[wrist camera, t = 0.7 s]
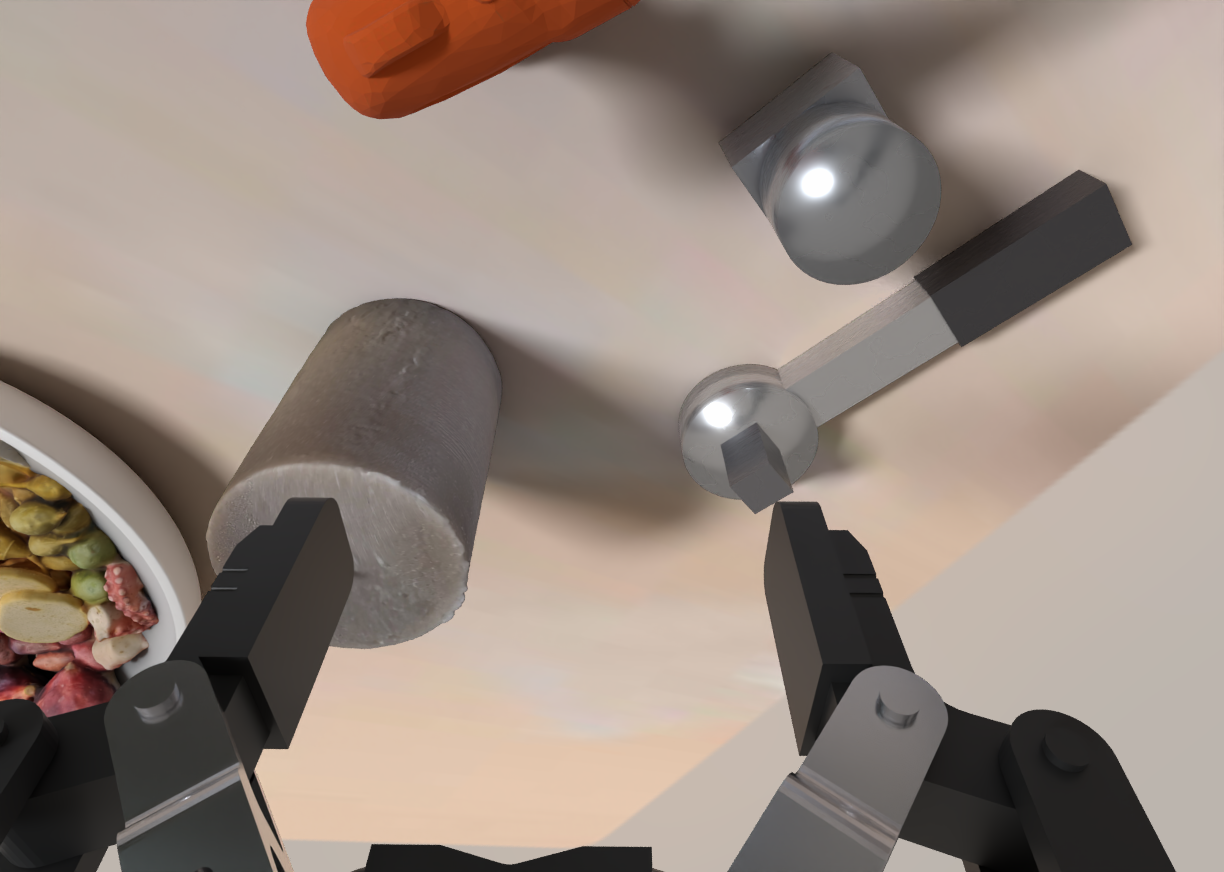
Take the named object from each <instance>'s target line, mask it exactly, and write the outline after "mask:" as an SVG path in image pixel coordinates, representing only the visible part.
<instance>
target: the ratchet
mask: <svg viewBox="0 0 1224 872" xmlns="http://www.w3.org/2000/svg"><path fill="white" fill-rule="evenodd" d="M1131 245H1132V243H1131V241H1130V238H1129V236H1128V234H1127V231H1126V229H1125V227H1124V224H1123V222H1122V220H1121V217H1120V215H1119V213H1118V210H1117V208H1116V206H1115V203H1114V201H1113V199H1112V196H1111V194H1110V192H1109V189H1108V187H1107V185H1106V184H1105V183H1103V182H1102V181H1100V180H1098V179H1096V178H1094V177H1092V176H1090V175H1088V174H1086V173H1084V172H1082V171H1080V170H1078V171H1076V172H1075V173H1073V174H1072V175H1070V176H1069V177H1067V178H1065V179H1064V180H1062V181H1061V182H1059V183H1058V184H1056V185H1055V186H1053V187H1052V188H1050V189H1049V190H1047V191H1046V192H1044V193H1042V194H1041V195H1039V196H1038V197H1036V198H1035V199H1033V200H1032V201H1030V202H1029V203H1027V204H1026V205H1024V206H1022V207H1021V208H1019V209H1018V210H1016V211H1015V212H1013V213H1012V214H1010V215H1009V216H1007V217H1006V218H1004V219H1003V220H1001V221H999V222H998V223H996V224H995V225H993V226H992V227H990V228H989V229H987V230H986V231H984V232H983V233H981V234H980V235H978V236H976V237H975V238H973V239H972V240H970V241H969V242H967V243H966V244H964V245H963V246H961V247H960V248H958V249H956V250H955V251H953V252H952V253H950V254H949V255H947V256H946V257H944V258H943V259H941V260H940V261H938V262H937V263H935V264H933V265H932V266H930V267H929V268H927V269H926V270H924V271H923V272H921V273H920V274H918V275H917V276H915V277H914V278H915V281H914V282H912V283H911V284H909V285H908V286H906V287H905V288H903V289H902V290H900V291H898V292H897V293H895V294H894V295H892V296H891V297H889V298H888V299H886V300H885V301H883V302H882V303H880V304H878V305H877V306H875V307H874V308H872V309H871V310H869V311H868V312H866V313H865V314H863V315H861V316H860V317H858V318H857V319H855V320H854V321H852V322H851V323H849V324H848V325H846V326H845V327H843V328H841V329H840V330H838V331H837V332H835V333H834V334H832V335H831V336H829V337H828V338H826V339H825V340H823V341H821V342H820V343H818V344H817V345H815V346H814V347H812V348H811V349H809V350H808V351H806V352H805V353H803V354H801V355H800V356H798V357H797V358H795V359H794V360H792V361H791V362H789V363H788V364H786V365H784V366H783V367H781V368H780V369H778V370H776V369H774V368H771V367H767V366H762V365H753V364H746V365H737V366H732V367H728V368H725V369H722V370H719V371H717V372H715V373H713V374H711V375H709V376H708V377H706V378H705V379H703V380H702V381H701V382H699V383H698V384H697V385H696V386H695V387H694V388H693V389H692V391H691V392H690V393H689V394H688V396H687V398H686V399H685V401H684V403H683V405H682V408H681V411H680V415H679V433H680V440H681V447H682V454H683V459H684V463H685V466H686V468H687V471H688V472H689V474H690V476H691V477H692V478H693V479H694V480H695V482H697V483H698V484H699V485H700V486H701V487H703V488H704V489H706V490H707V491H709V492H711V493H713V494H716V495H718V496H721V497H725V498H730V499H741V500H742V501H743V502H744V503H745V504H746V505H747V506H748V507H749V508H750V509H751V510H752V511H753V512H754V514H756V513H758V512H760V511H761V510H763V509H765V508H767V507H768V506H770V505H772V504H773V503H775V502H777V501H779V500H780V499H782V498H784V497H786V496H787V495H789V494H791V493H793V492H794V491H793V488H792V485H791V484H793V483H794V482H795V481H796V480H798V479H799V478H800V477H801V476H802V475H803V474H804V473H805V471H806V470H807V469H808V468H809V466H810V464H811V463H812V461H813V459H814V457H815V454H816V451H817V447H818V430H817V427H819V426H820V425H822V424H824V423H825V422H827V421H829V420H830V419H832V418H834V417H835V416H837V415H839V414H840V413H842V412H843V411H845V410H847V409H848V408H850V407H852V406H853V405H855V404H857V403H858V402H860V401H862V400H863V399H865V398H867V397H868V396H870V395H872V394H873V393H875V392H877V391H878V390H880V389H882V388H883V387H885V386H887V385H888V384H890V383H891V382H893V381H895V380H896V379H898V378H900V377H901V376H903V375H905V374H906V373H908V372H910V371H911V370H913V369H915V368H916V367H918V366H920V365H921V364H923V363H925V362H926V361H928V360H930V359H931V358H933V357H935V356H936V355H938V354H939V353H941V352H943V351H944V350H946V349H948V348H949V347H951V346H953V345H954V344H956V343H959V345H960V346H961V347H962V346H964V345H966V344H967V343H969V342H971V341H972V340H974V339H976V338H977V337H979V336H981V335H982V334H984V333H986V332H987V331H989V330H991V329H992V328H994V327H996V326H997V325H999V324H1001V323H1002V322H1004V321H1006V320H1007V319H1009V318H1011V317H1012V316H1014V315H1016V314H1017V313H1019V312H1021V311H1022V310H1024V309H1026V308H1027V307H1029V306H1031V305H1032V304H1034V303H1036V302H1037V301H1039V300H1041V299H1042V298H1044V297H1046V296H1047V295H1049V294H1051V293H1052V292H1054V291H1056V290H1057V289H1059V288H1061V287H1062V286H1064V285H1066V284H1067V283H1069V282H1071V281H1072V280H1074V279H1076V278H1077V277H1079V276H1081V275H1082V274H1084V273H1086V272H1087V271H1089V270H1091V269H1092V268H1094V267H1096V266H1097V265H1099V264H1101V263H1102V262H1104V261H1106V260H1107V259H1109V258H1111V257H1112V256H1114V255H1116V254H1117V253H1119V252H1121V251H1122V250H1124V249H1126V248H1127V247H1129V246H1131Z"/></svg>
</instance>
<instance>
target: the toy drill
mask: <svg viewBox="0 0 1224 872" xmlns="http://www.w3.org/2000/svg"><path fill="white" fill-rule="evenodd" d="M639 1H640V0H313V1H312V3H311V5H310V8H309V11H308V15H307V21H306V27H307V33H308V37H309V40H310V43H311V46H312V49H313V51H314V54H315V56H316V58H317V60H318V62H319V64H320V66H321V68H322V70H323V72H324V74H325V76H326V77H327V79H328V80H329V81H330V82H331V84H332V85H333V86H334V88H335V89H336V90H337V91H338V93H339V94H340V95H341V96H342V98H343V99H344V100H345V101H346V102H347V103H348V104H349V105H350V106H351V107H352V108H353V109H355V110H356V111H358V112H359V113H361V114H362V115H365V116H368V117H371V118H376V119H390V118H401V117H404V116H406V115H409V114H412V113H415V112H417V111H419V110H422V109H424V108H426V107H429V106H431V105H434V104H436V103H439V102H442V101H444V100H446V99H448V98H451V97H453V96H455V95H457V94H459V93H461V92H463V91H465V90H467V89H469V88H471V87H473V86H475V85H477V84H479V83H481V82H483V81H485V80H487V79H490V78H492V77H494V76H496V75H498V74H500V73H502V72H503V71H505V70H507V69H509V68H510V67H512V66H514V65H515V64H517V63H519V62H520V61H522V60H524V59H525V58H527V57H529V56H530V55H532V54H534V53H535V52H537V51H539V50H540V49H542V48H544V47H545V46H547V45H549V44H550V43H552V42H563V41H569V40H572V39H574V38H577V37H579V36H580V35H582V34H584V33H586V32H588V31H590V30H591V29H593V28H595V27H597V26H599V25H601V24H602V23H604V22H606V21H608V20H610V19H612V18H613V17H615V16H617V15H619V14H621V13H622V12H624V11H626V10H628V9H630V8H631V7H632V5H633V6H635V5H636V4H637V3H638V2H639Z"/></svg>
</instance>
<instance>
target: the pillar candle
mask: <svg viewBox="0 0 1224 872" xmlns="http://www.w3.org/2000/svg"><path fill="white" fill-rule="evenodd" d="M501 394H502V381H501V376H500V372H499V369H498V367H497V365H496V362H495V360H494V357H493V355H492V353H491V352H490V350H489V349H488V347H487V346H486V344H485V343H484V341H483V340H482V339H481V337H480V336H479V334H478V333H477V332H476V331H475V330H474V329H473V328H472V327H471V326H470V325H468V324H467V323H466V322H465V321H464V320H462V319H461V318H459V317H458V316H456V315H455V314H453V313H452V312H450V311H448V310H445V309H442V308H440V307H437V306H436V305H433V304H430V303H428V302H423V301H419V300H412V299H398V298H395V299H384V300H377V301H372V302H368V303H365V304H362V305H360V306H358V307H355V308H353V309H350V310H348V311H347V312H345V313H344V314H342V315H341V316H340V317H339V318H338V319H336V320H335V321H334V322H333V323H332V324H331V325H330V326H329V327H328V329H327V331H326V333H325V334H324V335H323V337H322V338H321V340H320V341H319V343H318V344H317V346H316V347H315V349H314V350H313V351H312V353H311V354H310V355H309V357H308V359H307V360H306V362H305V364H304V365H303V367H302V369H301V370H300V371H299V373H298V374H297V376H296V377H295V379H294V380H293V382H292V384H291V386H290V387H289V389H288V391H287V392H286V394H285V395H284V397H283V398H282V400H281V402H280V403H279V405H278V407H277V408H276V410H275V411H274V413H273V414H272V416H271V418H270V419H269V421H268V422H267V424H266V425H265V427H264V428H263V430H262V432H261V433H260V434H259V436H258V438H257V439H256V441H255V442H254V444H253V446H252V447H251V449H250V450H249V452H248V454H247V455H246V457H245V458H244V460H243V462H242V464H241V465H240V467H239V468H238V470H237V472H236V473H235V475H234V476H233V478H232V480H231V481H230V483H229V484H228V486H227V488H226V490H225V491H224V493H223V495H222V497H221V498H220V500H219V501H218V503H217V505H216V507H215V509H214V511H213V513H212V516H211V518H210V521H209V525H208V529H207V532H206V540H207V547H208V552H209V556H210V560H211V565H212V568H214V572H215V574H216V575H217V576H218V574H219V573H220V572H221V573H222V571H223V569H222V568H223V566H224V564H225V563H226V561H227V559H228V558H229V556H230V554H231V553H232V551H233V550H234V548H235V546H236V545H237V544H238V543H239V542H241V541H242V540H243V539H244V538H245V537H246V536H248V535H249V534H250V533H251V532H252V531H253V530H255V529H256V528H257V527H258V526H259V525H273V524H274V522H275V520H276V518H277V517H278V515H279V513H280V511H281V510H282V508H283V506H284V504H285V503H286V501H287V500H288V499H290V498H292V497H319V498H334V499H335V500H336V501H337V503H338V506H339V509H340V513H341V516H342V520H343V523H344V527H345V530H346V534H347V538H348V541H349V545H350V548H351V552H352V555H353V561H354V578H353V585H352V589H351V592H350V594H349V597H348V600H347V602H346V605H345V607H344V610H343V612H342V615H341V617H340V620H339V622H338V625H337V627H336V630H335V632H334V635H333V637H332V640H331V642H330V645H329V646H333V647H342V648H359V649H371V648H378V647H383V646H388V645H396V644H398V643H402V642H405V641H408V640H413V639H415V638H417V637H419V636H422V635H424V634H426V633H427V632H429V631H431V630H433V629H434V628H435V627H437V626H439V625H440V624H442V623H445V622H448V621H449V620H450V619H452V618H453V616H454V611H455V610H457V609H458V608H459V607H461V606H462V603H463V602H464V600H465V594H464V592H466V591H467V589H468V588H467V581H468V572H469V567H470V560H471V556H472V550H473V545H474V540H475V535H476V530H477V524H478V520H479V515H480V510H481V503H482V499H483V494H484V489H485V484H486V479H487V474H488V469H489V463H490V459H491V454H492V448H493V442H494V437H495V431H496V426H497V421H498V415H499V409H500V404H501Z"/></svg>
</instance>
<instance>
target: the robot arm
mask: <svg viewBox="0 0 1224 872" xmlns="http://www.w3.org/2000/svg"><path fill="white" fill-rule="evenodd" d="M222 569H223V571H222V573H221V572H220V573H219V574H218V576H217V578H216V579H215V581H214V583H213V584H212V586H211V591H208V592H207V594H206V596H205V597H204V599H203V601H202V602H201V604H200V606H199V607H198V609H197V611H196V612H195V614H194V616H193V617H192V619H191V621H190V622H189V624H188V625H187V627H186V629H185V630H184V632H183V634H182V635H181V637H180V639H179V640H178V642H177V644H176V645H175V647H174V649H173V650H172V652H171V654H170V655H169V657H168V658H167V660H166V661H165V662H163V663H159V664H156V665H154V666H151V667H149V668H147V669H145V670H143V671H141V672H139V673H137V674H136V675H134V676H133V677H131V678H130V679H129V680H128V681H126V682H125V683H124V684H123V685H122V686H121V687H120V688H119V689H118V690H117V691H116V692H115V694H114V695H113V696H112V698H111V699H110V701H108V702H105V703H102V704H98V705H94V706H90V707H86V708H82V709H78V710H75V711H71V712H67V713H63V714H59V715H55V716H51V717H47V716H46V715H45V714H44V712H43V711H42V710H41V708H40V707H39V706H38V705H37V704H36V703H34V702H32V701H30V700H25V699H8V700H3V701H0V872H96V871H97V869H98V867H99V865H100V863H101V861H102V858H103V857H104V855H105V853H106V851H107V849H108V846H111V845H115V844H117V849H118V855H119V860H120V865H121V870H122V872H294V870H293V868H292V866H291V863H290V861H289V858H288V855H287V853H286V850H285V847H284V844H283V842H282V839H281V836H280V834H279V831H278V828H277V826H276V823H275V820H274V818H273V815H272V812H271V810H270V807H269V804H268V802H267V799H266V796H265V794H264V791H263V788H262V786H261V783H260V780H259V778H258V775H257V773H256V771H255V767H256V765H257V762H258V760H259V758H260V755H261V753H262V750H263V749H288V748H289V746H290V743H291V741H292V738H293V736H294V733H295V731H296V728H297V726H298V723H299V721H300V718H301V716H302V713H303V710H304V708H305V705H306V703H307V700H308V698H309V695H310V693H311V690H312V688H313V685H314V683H315V680H316V678H317V675H318V673H319V670H320V668H321V665H322V663H323V660H324V658H325V655H326V652H327V650H328V647H329V645H330V642H331V640H332V637H333V635H334V632H335V630H336V627H337V625H338V622H339V620H340V617H341V615H342V612H343V610H344V607H345V605H346V602H347V600H348V597H349V594H350V592H351V589H352V585H353V578H354V561H353V555H352V552H351V548H350V545H349V541H348V538H347V534H346V530H345V527H344V523H343V520H342V516H341V513H340V509H339V506H338V503H337V501H336V500H335V499H334V498H319V497H292V498H290V499H288V500H287V501H286V503H285V504H284V506H283V508H282V510H281V511H280V513H279V515H278V517H277V518H276V520H275V522H274V524H273V525H259V526H258V527H257V528H256V529H255V530H253V531H252V532H251V533H250V534H249V535H248V536H246V537H245V538H244V539H243V540H242V541H241V542H239V543H238V544H237V545H236V546H235V548H234V550H233V551H232V553H231V554H230V556H229V558H228V559H227V561H226V563H225V564H224V566H223V568H222ZM764 587H765V595H766V600H767V605H768V610H769V614H770V619H771V624H772V629H773V633H774V638H775V643H776V648H777V652H778V657H779V662H780V667H781V671H782V676H783V681H784V686H785V690H786V695H787V699H788V704H789V709H790V714H791V719H792V724H793V728H794V733H795V738H796V742H797V747H798V752H799V756H807V757H806V759H805V760H804V762H803V764H802V765H801V767H800V768H799V770H798V771H797V772H796V773H795V774H794V773H793V772H792V773H790V774H789V775H788V776H787V777H786V779H785V780H784V781H783V783H782V784H781V786H780V787H779V789H778V790H777V792H776V794H775V795H774V797H773V798H772V800H771V802H770V803H769V805H768V807H767V808H766V810H765V811H764V813H763V815H762V816H761V818H760V819H759V821H758V823H757V824H756V826H755V828H754V830H753V831H752V832H751V834H750V836H749V838H748V839H747V841H746V842H745V844H744V846H743V847H742V849H741V850H740V852H739V854H738V855H737V857H736V859H735V860H734V862H733V863H732V865H731V867H730V868H729V870H728V871H727V872H883V871H884V868H885V866H886V864H887V862H888V860H889V857H890V855H891V853H892V851H893V848H894V846H895V844H896V842H897V840H898V838H901V839H904V840H907V841H910V842H913V843H916V844H919V845H922V846H925V847H928V848H931V849H934V850H936V851H939V852H942V853H945V854H948V855H951V856H954V857H957V858H960V859H962V861H963V864H964V867H965V871H966V872H1176V871H1175V869H1174V867H1173V865H1172V863H1171V861H1170V859H1169V857H1168V856H1167V854H1166V852H1165V850H1164V848H1163V846H1162V844H1161V842H1160V840H1159V838H1158V836H1157V834H1156V832H1155V830H1154V829H1153V827H1152V825H1151V823H1150V821H1149V819H1148V817H1147V815H1146V813H1145V811H1144V809H1143V807H1142V805H1141V804H1140V802H1139V800H1138V798H1137V796H1136V794H1135V792H1134V790H1133V788H1132V786H1131V784H1130V782H1129V780H1128V779H1127V777H1126V775H1125V773H1124V771H1123V769H1122V767H1121V765H1120V763H1119V761H1118V759H1117V757H1116V755H1115V754H1114V752H1113V751H1112V749H1111V748H1110V746H1109V745H1108V744H1107V743H1106V741H1105V740H1104V739H1103V738H1102V737H1101V736H1100V735H1099V734H1098V733H1096V732H1095V731H1094V730H1092V729H1091V728H1090V727H1088V726H1087V725H1085V724H1084V723H1082V722H1081V721H1079V720H1077V719H1075V718H1073V717H1071V716H1068V715H1066V714H1063V713H1060V712H1056V711H1051V710H1032V711H1027V712H1025V713H1023V714H1021V715H1020V716H1018V717H1017V718H1016V719H1015V720H1014V722H1013V723H1012V725H1008V724H1004V723H1001V722H998V721H994V720H990V719H987V718H984V717H980V716H976V715H973V714H970V713H967V712H964V711H961V710H958V709H956V708H954V707H952V706H950V705H948V704H946V703H945V702H943V700H942V698H941V696H940V695H939V694H938V692H937V691H936V690H935V689H934V688H933V687H932V686H931V685H930V684H929V683H928V682H927V681H925V680H923V678H921V677H919V676H918V675H916V674H915V673H914V670H913V669H912V667H911V664H910V661H909V659H908V656H907V653H906V651H905V648H904V646H903V643H902V640H901V638H900V635H899V633H898V630H897V627H896V625H895V622H894V619H893V617H892V614H891V612H890V609H889V606H888V604H887V601H886V599H885V598H884V597H883V591H882V588H881V585H880V583H879V580H878V579H876V572H875V570H874V567H873V565H872V562H871V559H870V557H869V554H868V552H867V550H866V549H865V548H864V547H863V546H862V545H861V544H860V543H859V542H858V541H857V540H856V539H855V537H854V536H853V535H852V534H851V533H850V532H849V531H848V530H828V528H827V525H826V522H825V519H824V516H823V513H822V510H821V507H820V505H819V503H818V502H776V503H775V505H774V508H773V513H772V519H771V525H770V531H769V537H768V543H767V550H766V556H765V562H764ZM352 872H663V871H660V870H657V869H654V868H652V847H592V846H582V847H578V848H575V849H571V850H567V851H563V852H560V853H556V854H552V855H548V856H544V857H540V858H537V859H533V860H529V861H525V862H521V863H518V864H512V865H507V864H501V863H498V862H495V861H491V860H488V859H485V858H481V857H478V856H475V855H472V854H468V853H465V852H462V851H459V850H455V849H452V848H449V847H445V846H442V845H391V844H372V845H371V849H370V852H369V856H368V860H367V864H366V867H364V868H360V869H357V870H354V871H352Z"/></svg>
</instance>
